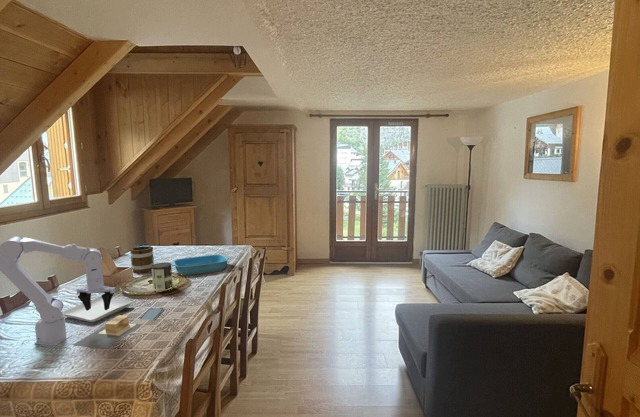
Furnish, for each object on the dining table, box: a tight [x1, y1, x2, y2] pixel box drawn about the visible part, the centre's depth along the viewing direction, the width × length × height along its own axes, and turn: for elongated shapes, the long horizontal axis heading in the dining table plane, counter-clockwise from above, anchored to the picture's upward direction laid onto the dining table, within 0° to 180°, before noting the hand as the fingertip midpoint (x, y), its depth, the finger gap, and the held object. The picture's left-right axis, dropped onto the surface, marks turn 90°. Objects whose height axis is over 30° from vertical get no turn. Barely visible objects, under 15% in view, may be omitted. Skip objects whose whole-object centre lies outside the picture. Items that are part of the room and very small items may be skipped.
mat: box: [72, 322, 143, 350], centre depth 139 cm, size 15×20×1 cm
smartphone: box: [139, 307, 165, 321], centre depth 157 cm, size 7×1×15 cm
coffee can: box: [151, 261, 173, 290], centre depth 190 cm, size 10×10×14 cm
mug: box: [129, 245, 155, 274], centre depth 226 cm, size 20×14×15 cm
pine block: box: [104, 315, 130, 334], centre depth 143 cm, size 8×4×4 cm, turn 173°
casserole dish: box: [170, 254, 230, 276], centre depth 225 cm, size 37×22×7 cm, turn 119°
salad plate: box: [61, 296, 133, 323], centre depth 160 cm, size 21×21×3 cm
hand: (97, 309), depth 142 cm, fingers open, 7 cm apart
